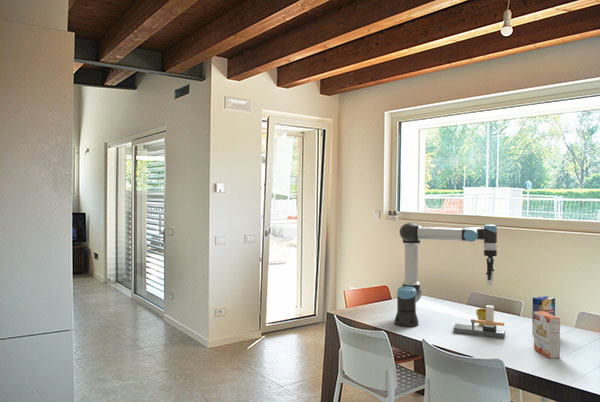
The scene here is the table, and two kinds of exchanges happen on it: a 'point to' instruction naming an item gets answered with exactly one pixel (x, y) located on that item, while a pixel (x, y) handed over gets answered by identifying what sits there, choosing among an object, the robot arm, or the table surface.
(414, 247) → the robot arm
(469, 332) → the power strip
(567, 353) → the table surface
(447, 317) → the table surface
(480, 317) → the plant pot
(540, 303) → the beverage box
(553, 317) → the cracker box
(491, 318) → the plug
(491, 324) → the orange rectangular bar
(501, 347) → the table surface
